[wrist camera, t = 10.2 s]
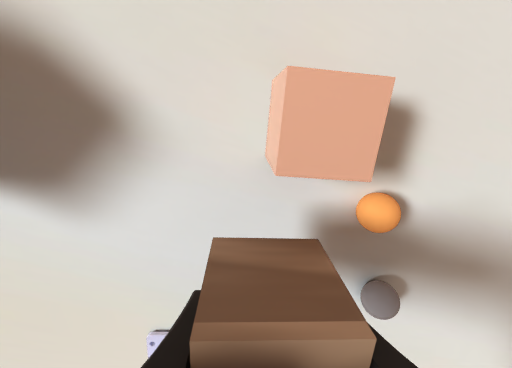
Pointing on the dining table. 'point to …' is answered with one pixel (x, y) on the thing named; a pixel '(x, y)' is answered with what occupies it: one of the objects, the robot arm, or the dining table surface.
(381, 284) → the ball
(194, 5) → the dining table surface
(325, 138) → the salmon pink block
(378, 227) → the orange ball
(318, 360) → the brown block
